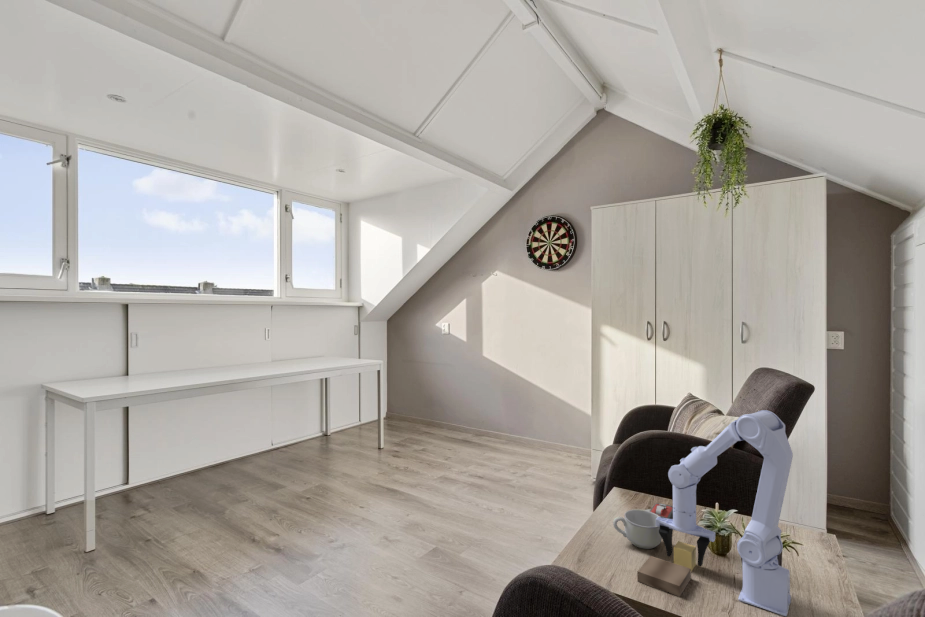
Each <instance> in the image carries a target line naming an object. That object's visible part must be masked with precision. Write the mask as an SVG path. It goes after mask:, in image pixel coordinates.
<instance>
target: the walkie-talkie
mask: <svg viewBox="0 0 925 617" xmlns="http://www.w3.org/2000/svg"><path fill="white" fill-rule="evenodd" d="M645 510H646V511H649V512H652V513H655V514H657V515H658V516H660V517H661V518H667V519H673V505H669V504H665V503H661V502H657V503H654V504H653V506H652V507H651V509H649V508H648V509H645Z"/></svg>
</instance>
